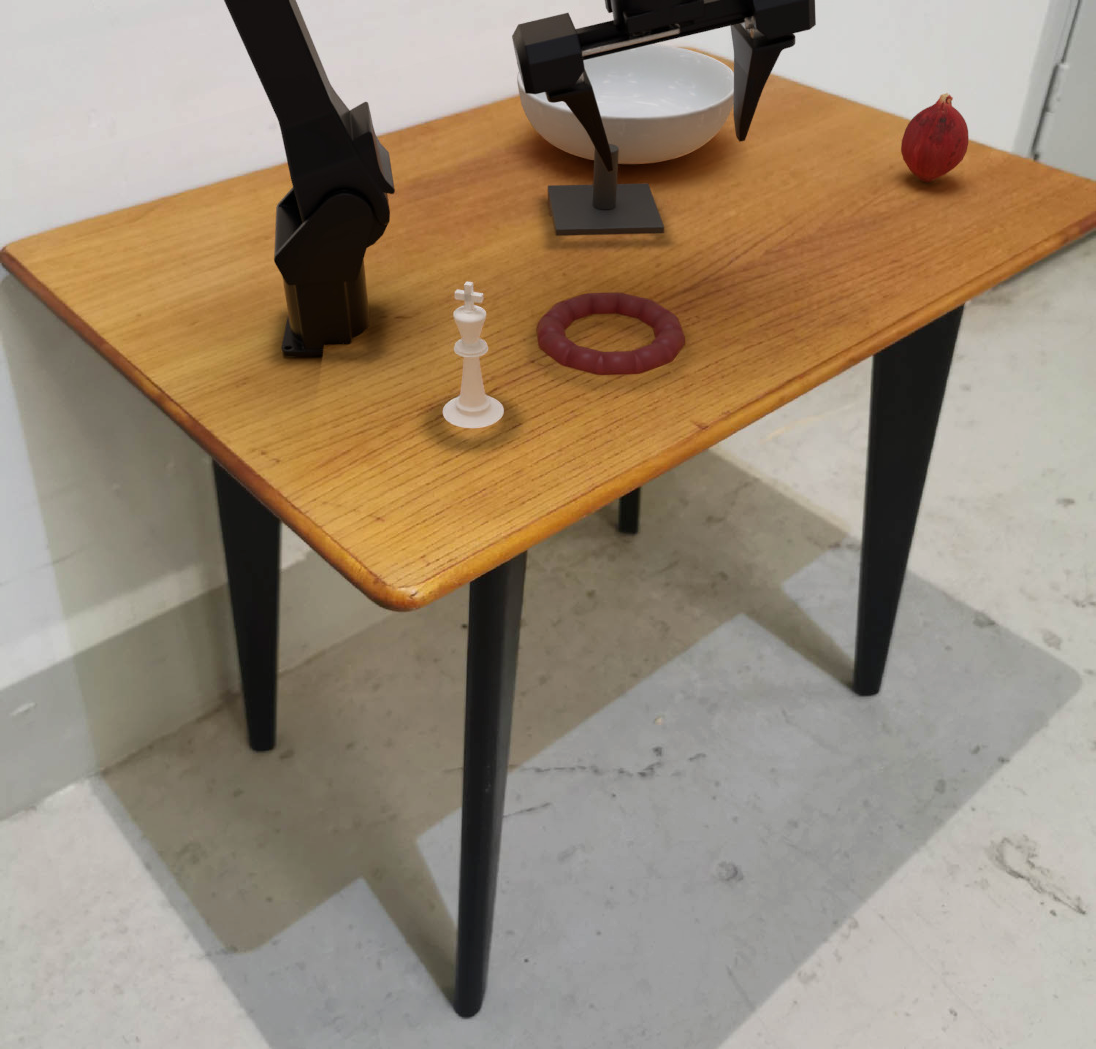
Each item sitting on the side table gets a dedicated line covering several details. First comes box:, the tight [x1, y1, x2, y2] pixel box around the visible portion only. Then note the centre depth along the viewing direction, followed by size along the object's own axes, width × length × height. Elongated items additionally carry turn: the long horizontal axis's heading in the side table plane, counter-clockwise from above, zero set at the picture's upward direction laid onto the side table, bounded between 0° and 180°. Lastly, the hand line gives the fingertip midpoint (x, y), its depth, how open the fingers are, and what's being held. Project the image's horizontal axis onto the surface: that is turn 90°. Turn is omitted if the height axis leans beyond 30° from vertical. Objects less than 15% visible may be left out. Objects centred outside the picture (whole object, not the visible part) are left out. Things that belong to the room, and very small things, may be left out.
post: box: [546, 144, 665, 236], centre depth 95 cm, size 9×9×6 cm
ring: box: [535, 291, 686, 376], centre depth 80 cm, size 10×10×2 cm
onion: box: [900, 92, 969, 183], centre depth 102 cm, size 6×6×8 cm
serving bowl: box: [516, 43, 734, 165], centre depth 108 cm, size 21×21×7 cm
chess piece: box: [442, 281, 505, 429], centre depth 70 cm, size 5×5×10 cm
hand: (675, 154), depth 77 cm, fingers open, 9 cm apart
